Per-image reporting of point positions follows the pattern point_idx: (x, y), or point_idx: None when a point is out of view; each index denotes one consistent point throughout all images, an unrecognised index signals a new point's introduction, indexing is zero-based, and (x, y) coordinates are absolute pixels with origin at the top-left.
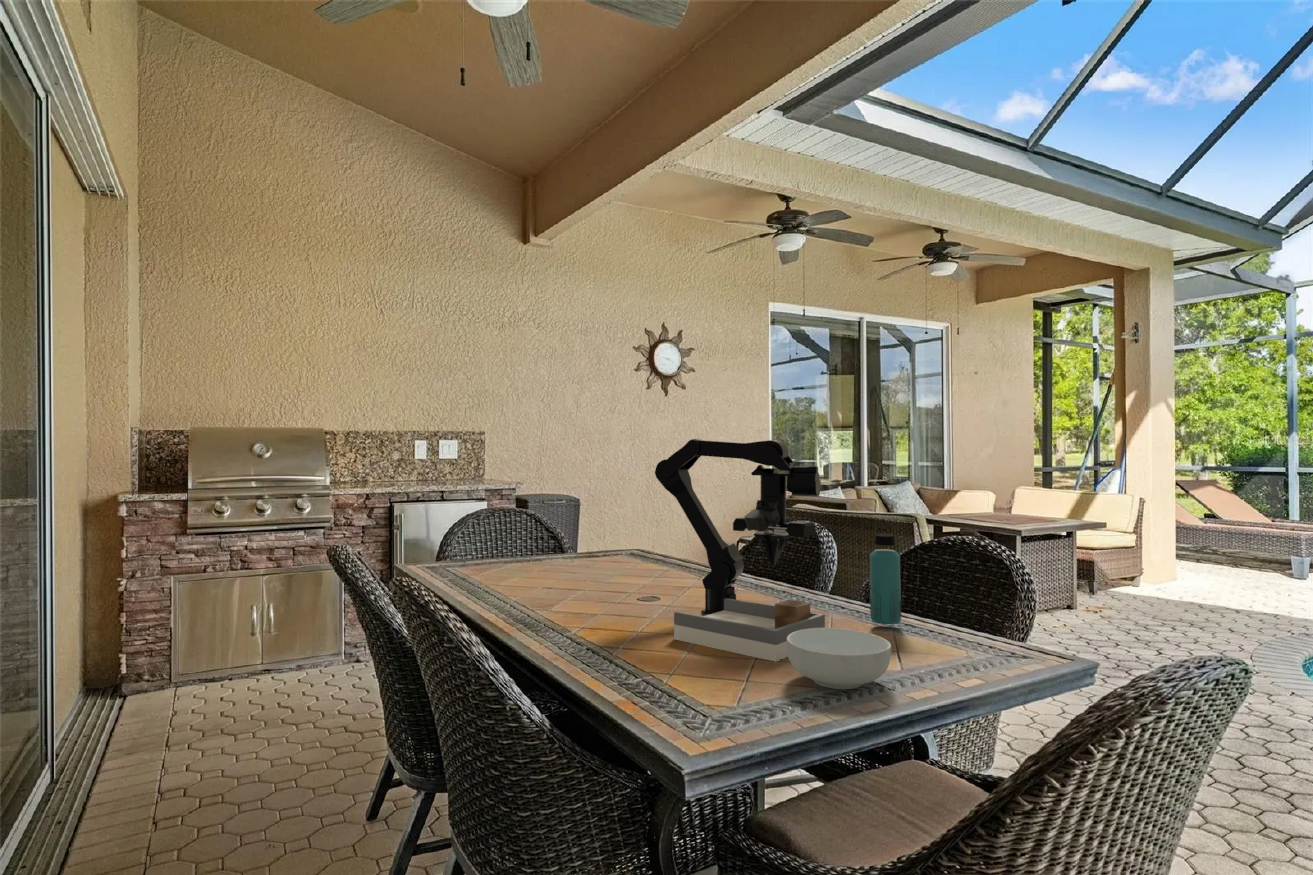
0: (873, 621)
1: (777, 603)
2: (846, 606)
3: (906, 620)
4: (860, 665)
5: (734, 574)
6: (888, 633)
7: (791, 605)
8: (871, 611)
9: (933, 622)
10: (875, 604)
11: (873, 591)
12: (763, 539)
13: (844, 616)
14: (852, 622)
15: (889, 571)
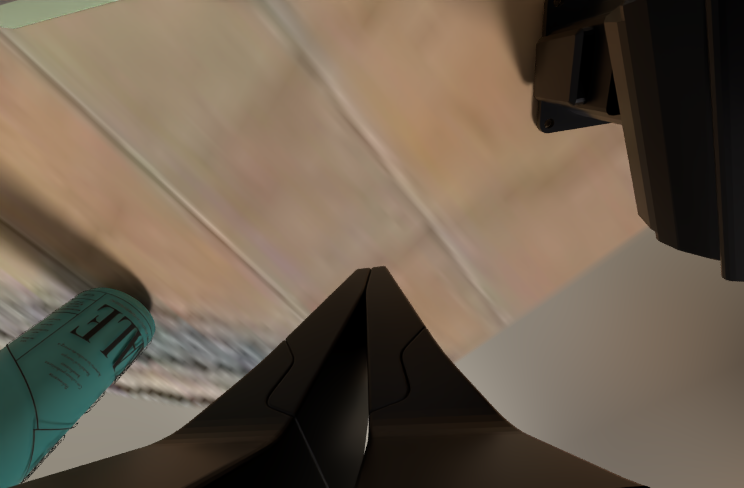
0: (117, 290)
1: None
2: None
3: (179, 381)
4: None
5: (620, 16)
6: (79, 268)
7: None
8: (106, 311)
9: (143, 397)
10: (55, 319)
11: (25, 354)
12: (435, 451)
13: (278, 329)
14: (215, 295)
15: None
